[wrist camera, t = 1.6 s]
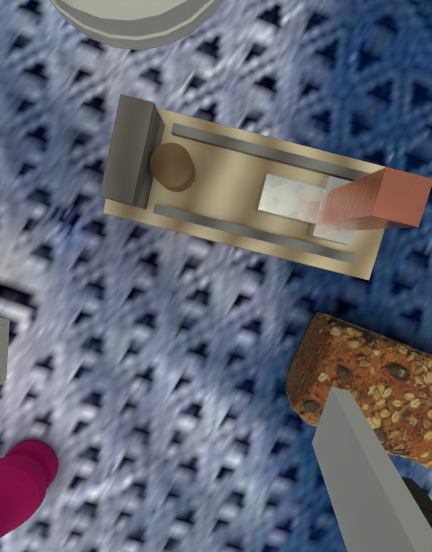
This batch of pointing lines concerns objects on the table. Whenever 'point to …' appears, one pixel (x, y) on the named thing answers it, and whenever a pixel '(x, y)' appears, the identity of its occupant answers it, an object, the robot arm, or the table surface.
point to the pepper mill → (24, 482)
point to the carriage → (348, 203)
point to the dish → (136, 20)
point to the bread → (366, 383)
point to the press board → (227, 186)
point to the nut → (172, 167)
